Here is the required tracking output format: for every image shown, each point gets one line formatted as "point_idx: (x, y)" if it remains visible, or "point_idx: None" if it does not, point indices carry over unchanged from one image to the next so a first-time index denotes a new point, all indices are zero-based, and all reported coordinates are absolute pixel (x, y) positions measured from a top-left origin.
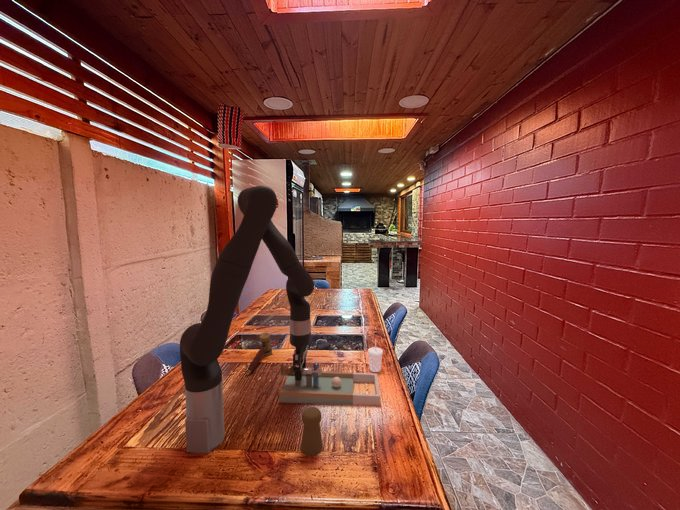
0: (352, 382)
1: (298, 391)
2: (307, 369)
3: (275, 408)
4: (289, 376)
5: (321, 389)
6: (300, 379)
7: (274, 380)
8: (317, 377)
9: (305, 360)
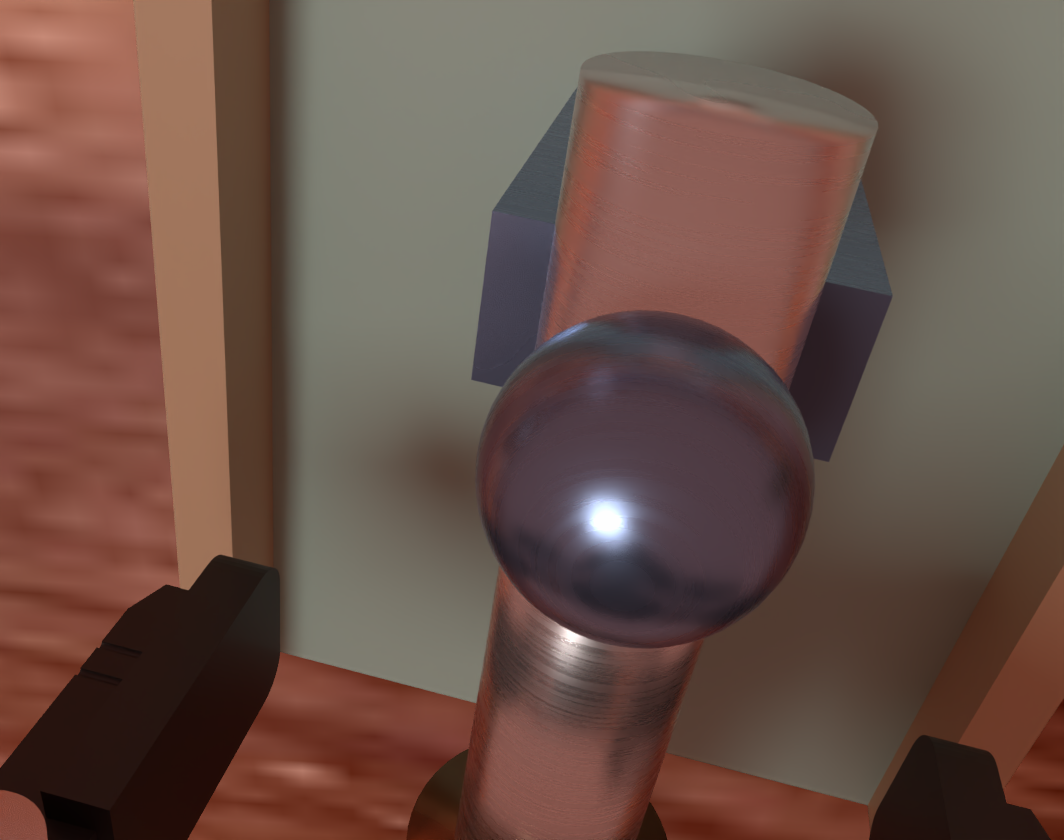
0: None
1: (1046, 629)
2: (636, 674)
3: (1025, 769)
4: (305, 640)
5: (922, 1)
6: (987, 781)
7: (305, 732)
8: (871, 240)
9: (150, 750)
